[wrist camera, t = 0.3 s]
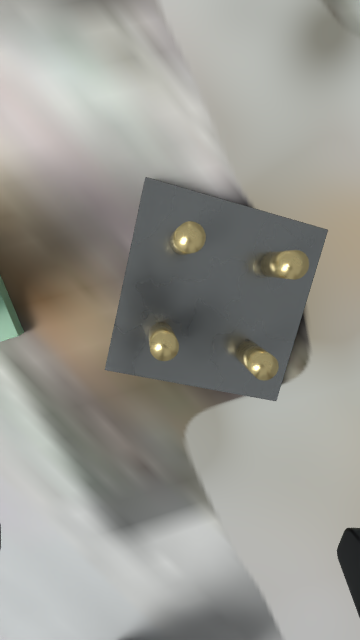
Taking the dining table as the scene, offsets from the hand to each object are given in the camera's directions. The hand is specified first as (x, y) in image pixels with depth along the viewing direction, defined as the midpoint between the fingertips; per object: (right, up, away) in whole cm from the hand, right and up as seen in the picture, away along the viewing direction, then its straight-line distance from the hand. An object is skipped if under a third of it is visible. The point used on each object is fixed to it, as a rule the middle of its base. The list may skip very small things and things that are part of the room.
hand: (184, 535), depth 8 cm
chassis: (+2, +7, +13) cm, 15 cm away
